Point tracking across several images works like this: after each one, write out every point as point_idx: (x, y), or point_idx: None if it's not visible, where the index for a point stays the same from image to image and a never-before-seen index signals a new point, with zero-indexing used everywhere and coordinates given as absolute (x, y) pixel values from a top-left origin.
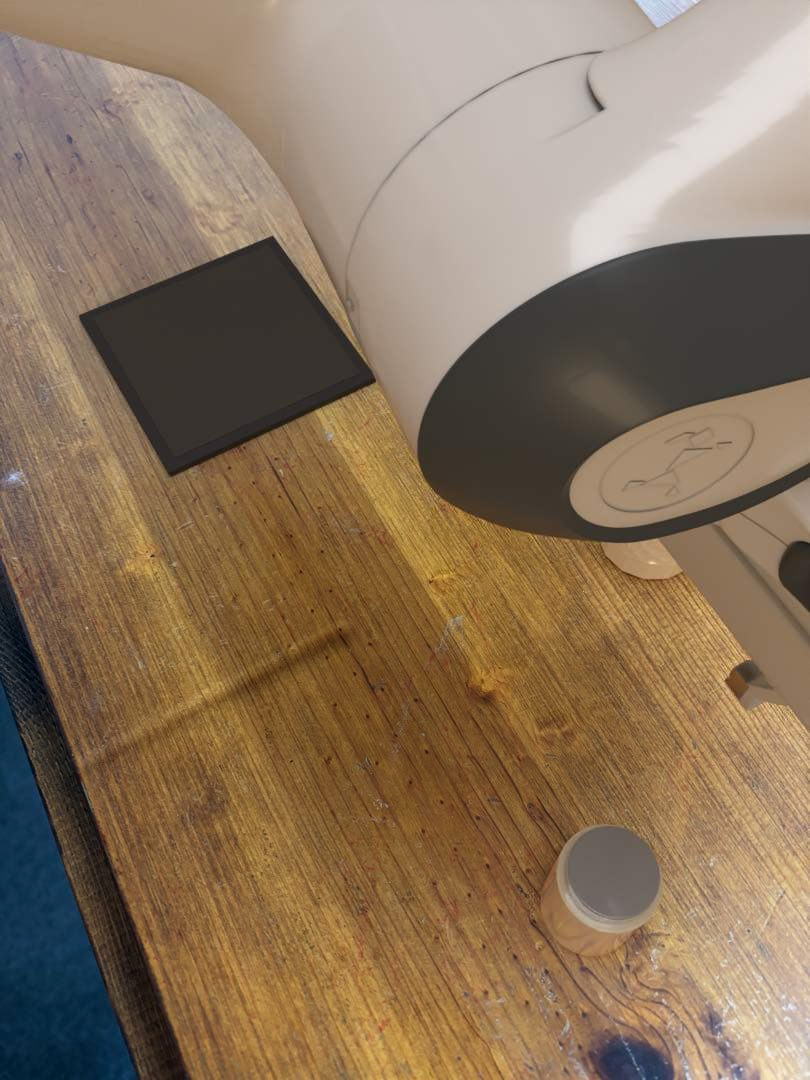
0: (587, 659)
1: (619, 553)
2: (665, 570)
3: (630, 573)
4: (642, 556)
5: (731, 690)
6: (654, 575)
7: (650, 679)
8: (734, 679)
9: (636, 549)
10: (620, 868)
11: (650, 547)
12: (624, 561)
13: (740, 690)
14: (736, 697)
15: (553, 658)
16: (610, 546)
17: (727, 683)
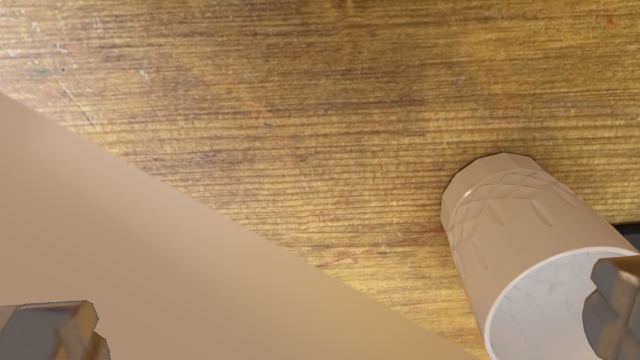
0: (409, 71)
1: (497, 168)
2: (451, 200)
3: (469, 165)
4: (479, 190)
5: (47, 307)
6: (453, 186)
7: (353, 122)
8: (37, 346)
9: (490, 189)
10: None
11: (483, 206)
12: (485, 168)
13: (6, 341)
14: (31, 305)
15: (431, 35)
16: (510, 164)
17: (67, 308)
